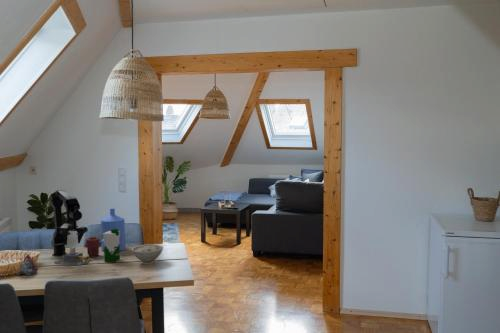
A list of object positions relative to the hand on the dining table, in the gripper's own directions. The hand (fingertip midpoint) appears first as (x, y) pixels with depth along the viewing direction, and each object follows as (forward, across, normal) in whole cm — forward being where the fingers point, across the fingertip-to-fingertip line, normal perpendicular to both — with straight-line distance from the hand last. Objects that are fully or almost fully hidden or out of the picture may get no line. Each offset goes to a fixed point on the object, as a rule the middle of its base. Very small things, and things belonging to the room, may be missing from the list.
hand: (72, 243), depth 301 cm
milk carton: (+12, +22, +8) cm, 27 cm away
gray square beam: (+11, 0, 0) cm, 11 cm away
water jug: (+12, +8, +34) cm, 37 cm away
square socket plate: (+12, 0, 0) cm, 12 cm away
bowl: (+12, +46, +10) cm, 49 cm away
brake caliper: (+12, -10, -28) cm, 32 cm away
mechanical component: (+12, +4, +16) cm, 20 cm away
